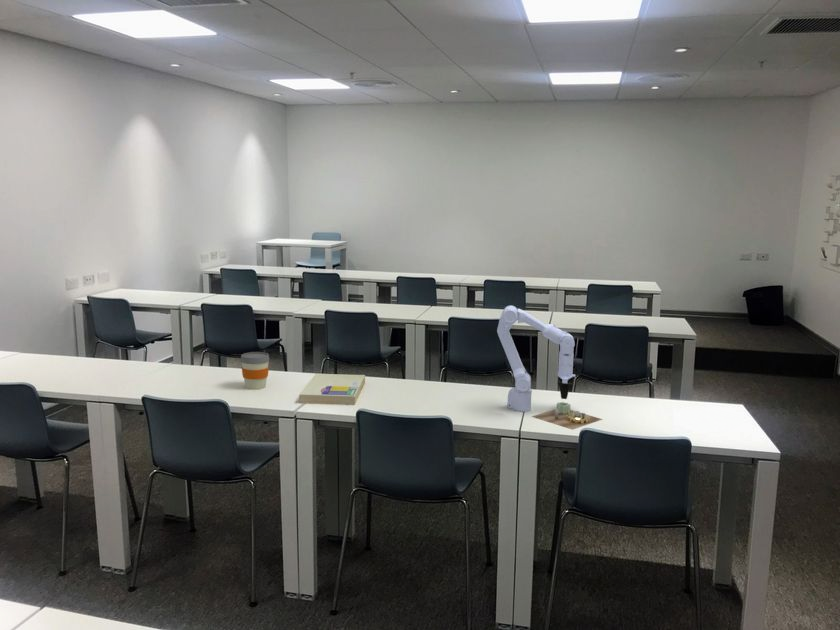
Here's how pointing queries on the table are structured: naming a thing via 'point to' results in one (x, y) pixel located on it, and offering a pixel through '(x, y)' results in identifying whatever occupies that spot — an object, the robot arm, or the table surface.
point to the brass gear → (577, 418)
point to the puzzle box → (333, 389)
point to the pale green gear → (563, 407)
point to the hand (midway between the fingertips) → (564, 396)
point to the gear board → (564, 418)
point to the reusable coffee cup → (255, 369)
